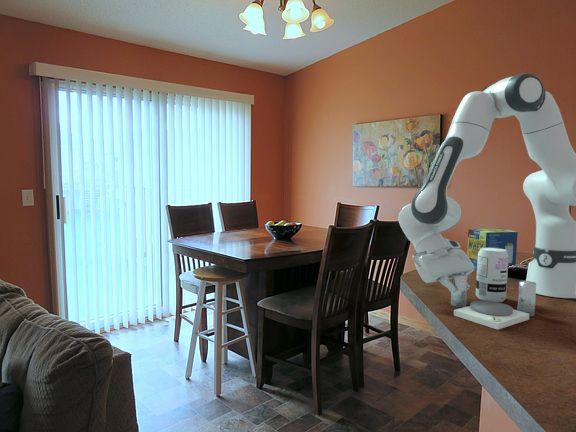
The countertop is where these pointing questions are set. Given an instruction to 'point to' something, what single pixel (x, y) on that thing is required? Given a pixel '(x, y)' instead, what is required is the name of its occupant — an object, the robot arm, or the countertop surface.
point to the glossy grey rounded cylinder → (459, 290)
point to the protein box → (492, 243)
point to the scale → (491, 314)
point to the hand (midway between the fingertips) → (461, 290)
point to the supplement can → (492, 274)
